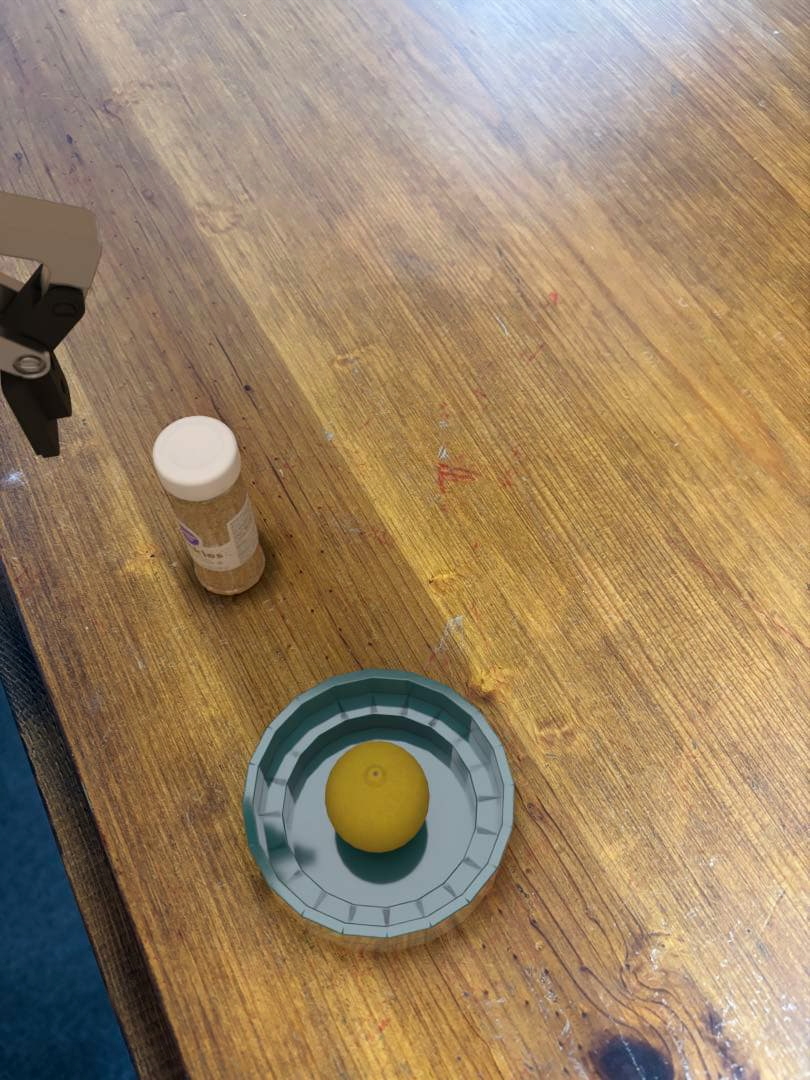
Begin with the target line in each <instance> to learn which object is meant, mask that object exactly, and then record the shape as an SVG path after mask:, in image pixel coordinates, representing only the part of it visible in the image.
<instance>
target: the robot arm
mask: <svg viewBox="0 0 810 1080" xmlns="http://www.w3.org/2000/svg"><path fill="white" fill-rule="evenodd" d="M101 237H102V236H101V229H100V220H99V218H98V215H97V214H96V213H95V212H94V211H93V210H91V209H89V208H86V207H82V206H77V205H73V204H68V203H62V202H57V201H53V200H47V199H42V198H37V197H32V196H27V195H22V194H17V193H13V192H7V191H3V190H0V256H4V257H9V258H15V259H21V260H25V261H26V260H27V261H32V262H37V263H39V265H38V267H36V269H35V270H34V272H33V273H32V274H31V276H30V277H29V278H28V280H27V281H26V282H25V283H24V282H23V281H20V280H18V279H16V278H14V277H12V276H9V275H8V274H5V273H4V272H2V271H0V388H1V391H2V395H3V397H4V399H5V400H6V402H7V404H8V406H9V408H10V410H11V412H12V414H13V415H14V417H15V419H16V421H17V423H18V425H19V427H20V428H21V430H22V432H23V433H24V435H25V437H26V439H27V442H28V443H29V444H30V445H29V446H30V447H31V448H32V450H33V452H34V454H35V455H36V456H41V457H42V458H43V459H49V458H55V457H59V456H60V455H61V446H60V436H59V424H58V420H61V419H65V418H70V417H72V415H73V406H72V398H71V397H72V396H71V392H70V391H71V390H70V387H69V383H68V381H67V378H66V376H65V372H64V371H63V369H62V367H61V365H60V362H59V360H58V358H57V356H56V353H55V350H56V348H57V347H59V345H60V344H61V343H62V342H63V341H64V339H66V337H67V336H68V335H69V334H70V332H71V331H72V330H73V329H74V328H75V326H77V324H78V323H79V322H80V321H81V320H82V318H84V315H85V314H86V299H87V297H88V293H89V291H91V289H92V286H93V283H94V280H95V276H96V273H97V270H98V267H99V264H100V262H101V258H102V256H103V244H102V238H101Z"/></svg>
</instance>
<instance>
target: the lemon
mask: <svg viewBox="0 0 810 1080" xmlns="http://www.w3.org/2000/svg"><path fill="white" fill-rule="evenodd" d="M429 800H430V794H429V786H428V781H427V779H426V776H425V774H424V771H423V769H422V767H421V766H420V764H419V763H418V762H417V760H416V759H415V758H414V757H413V756H412V755H411V754H410V753H409V752H407V751H406V750H405V749H404V748H402V747H400V746H397V745H395V744H393V743H390V742H384V741H368V742H365V743H361V744H358V745H356V746H354V747H353V748H351V749H349V750H348V751H346V752H345V753H344V754H343V755H342V756H341V757H340V758H339V759H338V760H337V761H336V763H335V765H334V766H333V768H332V770H331V771H330V774H329V777H328V780H327V783H326V787H325V806H326V810H327V815H328V818H329V820H330V822H331V824H332V826H333V828H334V829H335V831H336V832H337V833H338V834H339V835H340V836H341V838H342V839H343V840H344V841H346V842H347V843H349V844H350V845H352V846H353V847H355V848H358V849H361V850H364V851H367V852H377V853H381V852H387V851H392V850H394V849H397V848H399V847H401V846H403V845H405V844H406V843H407V842H408V841H410V840H411V839H412V838H413V837H414V836H415V835H416V834H417V832H418V831H419V830H420V828H421V827H422V826H423V823H424V821H425V818H426V816H427V813H428V808H429Z"/></svg>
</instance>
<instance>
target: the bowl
mask: <svg viewBox="0 0 810 1080" xmlns="http://www.w3.org/2000/svg"><path fill="white" fill-rule="evenodd" d="M368 741H384V742H390V743H393V744H395V745H397V746H400V747H402V748H404V749H405V750H406V751H407V752H409V753H410V754H411V755H412V756H413V757H414V758H415V759H416V760H417V762H418V763H419V764H420V766H421V767H422V769H423V771H424V774H425V776H426V779H427V781H428V786H429V794H430V800H429V808H428V813H427V816H426V818H425V821H424V823H423V826H422V827H421V828H420V830H419V831H418V832H417V834H416V835H415V836H414V837H413V838H412V839H411V840H410V841H408V842H407V843H406V844H405V845H403V846H401V847H399V848H397V849H394V850H392V851H387V852H381V853H377V852H367V851H364V850H361V849H358V848H355V847H353V846H352V845H350V844H349V843H347V842H346V841H344V840H343V839H342V838H341V836H340V835H339V834H338V833H337V832H336V831H335V829H334V828H333V826H332V824H331V822H330V820H329V818H328V815H327V810H326V806H325V787H326V783H327V780H328V777H329V774H330V771H331V770H332V768H333V766H334V765H335V763H336V761H337V760H338V759H339V758H340V757H341V756H342V755H343V754H344V753H345V752H346V751H348V750H349V749H351V748H353V747H354V746H356V745H358V744H361V743H365V742H368ZM515 788H516V786H515V780H514V777H513V774H512V770H511V767H510V764H509V761H508V756H507V753H506V750H505V746H504V745H503V742H502V741H501V739H500V738H499V737H498V735H497V734H496V731H494V729H493V728H492V726H491V724H489V722H488V720H487V719H486V717H485V716H484V714H483V712H481V710H480V709H478V708H477V707H476V706H474V705H473V704H472V703H471V702H470V701H469V700H467V699H466V698H465V697H463V696H462V695H461V694H459V693H458V692H457V691H456V690H455V689H453V688H452V687H451V686H450V685H448V684H445V683H442V682H439V681H437V680H435V679H432V678H429V677H427V676H424V675H422V674H419V673H416V672H415V671H410V670H398V669H385V668H373V667H370V668H369V667H368V668H365V669H360V670H355V671H352V672H346V673H341V674H337V675H333V676H331V677H329V678H327V679H324V680H323V681H322V682H320V683H318V684H316V685H314V686H312V687H311V688H309V689H307V690H305V691H303V692H302V693H299V694H298V695H296V696H295V697H294V698H293V699H292V700H291V701H290V702H289V703H288V704H287V705H286V706H285V707H284V708H283V709H282V710H281V711H280V712H279V713H278V714H277V716H276V717H275V718H273V720H272V721H271V722H270V723H269V724H268V725H267V727H266V728H265V730H264V731H263V734H262V736H261V738H260V739H259V741H258V744H257V746H256V747H255V749H254V751H253V753H252V755H251V758H250V759H249V761H248V764H247V770H246V775H245V782H244V788H243V795H242V800H241V811H242V816H243V823H244V824H243V825H244V829H245V836H246V843H247V847H248V850H249V852H250V854H251V855H252V858H253V859H254V862H255V863H256V865H257V867H258V869H259V871H260V873H261V874H262V877H263V878H264V881H265V883H266V884H267V886H268V888H269V889H270V891H271V893H272V895H273V896H274V899H275V900H276V902H277V903H278V904H279V905H280V906H281V907H282V908H283V909H284V910H285V911H286V912H287V913H288V914H289V915H290V916H291V917H292V918H294V919H295V921H296V922H297V923H299V924H300V925H301V926H302V927H303V928H304V929H305V930H306V931H307V932H309V933H310V934H313V935H315V936H318V937H319V938H322V939H324V940H327V941H328V942H331V943H332V944H335V945H337V946H339V947H342V948H344V949H347V950H355V951H356V950H357V951H365V952H367V951H368V952H378V953H392V952H397V951H401V950H406V949H409V948H414V947H417V946H422V945H426V944H429V943H431V942H433V941H435V940H436V939H438V938H440V937H441V936H443V935H444V934H446V933H447V932H449V931H450V930H452V929H453V928H456V927H457V926H459V925H460V924H461V923H463V922H464V921H466V920H467V919H468V918H469V917H470V915H472V914H473V912H474V911H475V909H476V908H477V907H478V906H479V904H480V903H481V902H482V901H483V899H484V898H485V897H486V896H487V894H488V893H489V892H490V891H491V890H492V888H493V886H494V884H495V883H496V882H495V881H496V879H497V876H498V873H499V871H500V867H501V865H502V862H503V860H504V857H505V854H506V852H507V849H508V846H509V842H510V839H511V835H512V833H513V829H514V820H515V792H516V791H515Z"/></svg>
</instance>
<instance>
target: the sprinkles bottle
mask: <svg viewBox="0 0 810 1080" xmlns="http://www.w3.org/2000/svg"><path fill="white" fill-rule="evenodd" d="M152 462H153V466H154V468H155V471H156V474H157V478H158V479H159V482H160V484H161V485H162V487H163V488H164V489H165V490H166V491H167V493H168V496H169V498H170V501H171V503H172V506H173V508H174V511H175V514H176V520H177V523H178V526H179V528H180V531H181V534H182V537H183V540H184V543H185V545H186V548H187V552H188V553H189V555H190V557H191V559H192V562H193V566H194V571H195V575H196V578H197V579H198V581H199V583H200V584H201V585H202V587H204V588H205V589H206V590H207V591H209V592H212V593H214V594H216V595H224V596H234V595H237V594H241V593H243V592H247V590H249V589H250V588H252V587H253V586H255V585H256V584H257V583H258V582H259V580H260V579H261V577H262V575H263V573H264V570H265V567H266V557H265V554H264V550H263V548H262V546H261V545H260V541H259V533H258V527H257V524H256V520H255V516H254V512H253V508H252V505H251V501H250V496H249V492H248V488H247V485H246V483H245V481H244V476H243V472H242V457H241V453H240V449H239V446H238V442H237V439H236V436H235V434H234V432H233V431H232V430H231V429H230V427H229V426H228V425H226V424H225V423H224V422H222V421H221V420H219V419H216V418H214V417H210V416H206V415H191V416H186V417H183V418H179V419H177V420H175V421H173V422H172V423H170V424H168V426H166V427H164V428H163V430H162V431H160V433H159V434H158V436H157V437H156V440H155V442H154V444H153V448H152Z"/></svg>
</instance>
